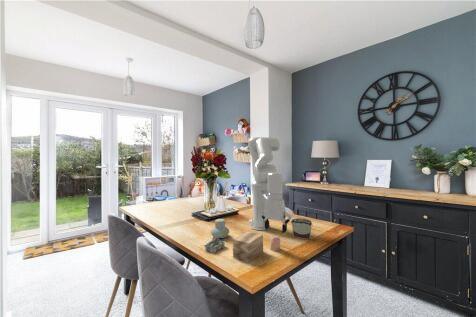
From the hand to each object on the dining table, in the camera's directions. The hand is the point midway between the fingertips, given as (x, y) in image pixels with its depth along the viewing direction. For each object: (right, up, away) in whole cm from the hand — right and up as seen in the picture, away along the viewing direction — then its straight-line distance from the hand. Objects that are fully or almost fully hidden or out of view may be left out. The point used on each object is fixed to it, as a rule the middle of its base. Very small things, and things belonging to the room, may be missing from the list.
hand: (275, 230), depth 114 cm
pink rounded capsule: (0, -10, +1) cm, 10 cm away
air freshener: (-30, -10, +20) cm, 37 cm away
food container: (+19, -10, +18) cm, 28 cm away
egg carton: (-31, -11, +3) cm, 33 cm away
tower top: (-14, -6, -5) cm, 16 cm away
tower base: (-14, -11, -5) cm, 18 cm away
